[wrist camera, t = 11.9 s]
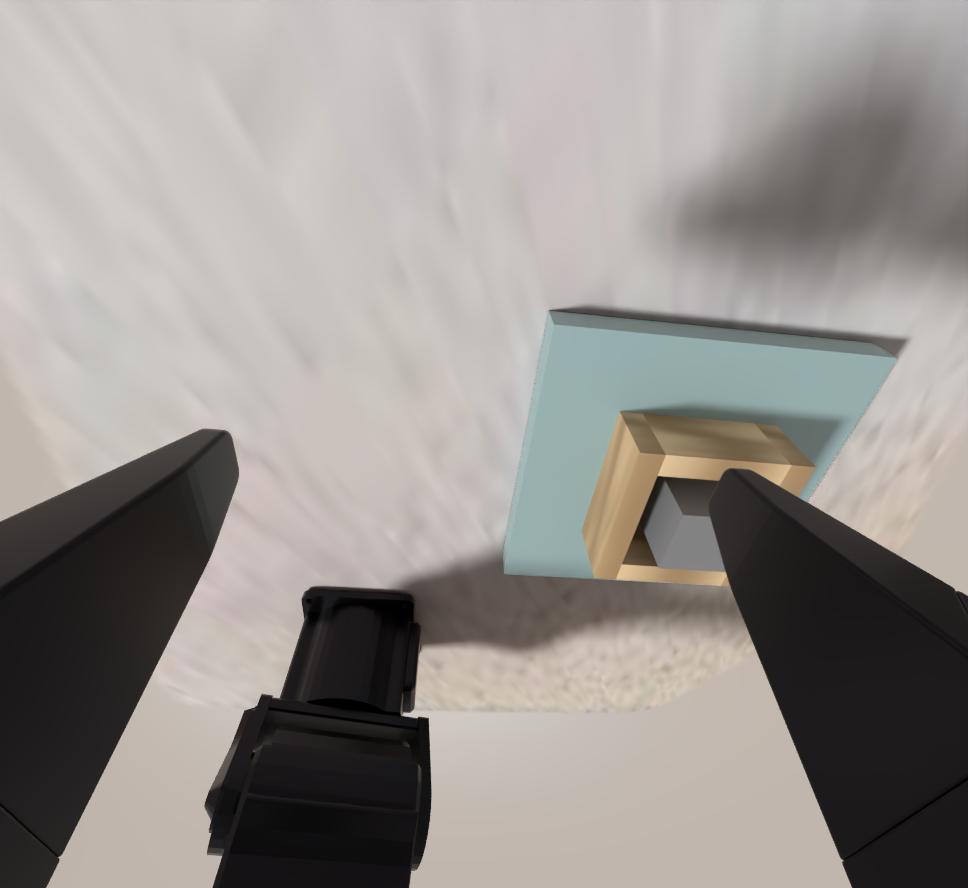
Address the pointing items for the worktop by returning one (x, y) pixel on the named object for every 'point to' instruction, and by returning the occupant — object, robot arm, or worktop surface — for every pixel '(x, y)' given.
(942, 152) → the worktop surface
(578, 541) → the post board
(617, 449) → the square frame
